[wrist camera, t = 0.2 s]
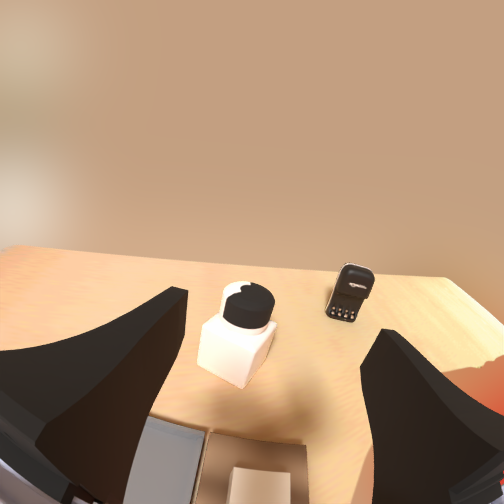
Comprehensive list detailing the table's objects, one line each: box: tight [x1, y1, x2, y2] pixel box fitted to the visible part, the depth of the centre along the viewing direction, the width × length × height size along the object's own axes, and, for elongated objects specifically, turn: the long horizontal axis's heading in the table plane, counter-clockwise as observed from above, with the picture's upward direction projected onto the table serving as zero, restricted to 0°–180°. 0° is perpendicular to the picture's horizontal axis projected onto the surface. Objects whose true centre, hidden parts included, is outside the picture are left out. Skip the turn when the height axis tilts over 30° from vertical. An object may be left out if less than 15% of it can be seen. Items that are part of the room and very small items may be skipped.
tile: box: [226, 467, 290, 504], centre depth 16 cm, size 5×5×2 cm
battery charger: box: [325, 263, 375, 322], centre depth 51 cm, size 7×4×11 cm, turn 82°
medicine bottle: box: [197, 281, 277, 389], centre depth 33 cm, size 7×7×12 cm
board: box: [195, 432, 309, 504], centre depth 16 cm, size 14×10×2 cm
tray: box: [93, 416, 205, 504], centre depth 16 cm, size 14×11×2 cm
